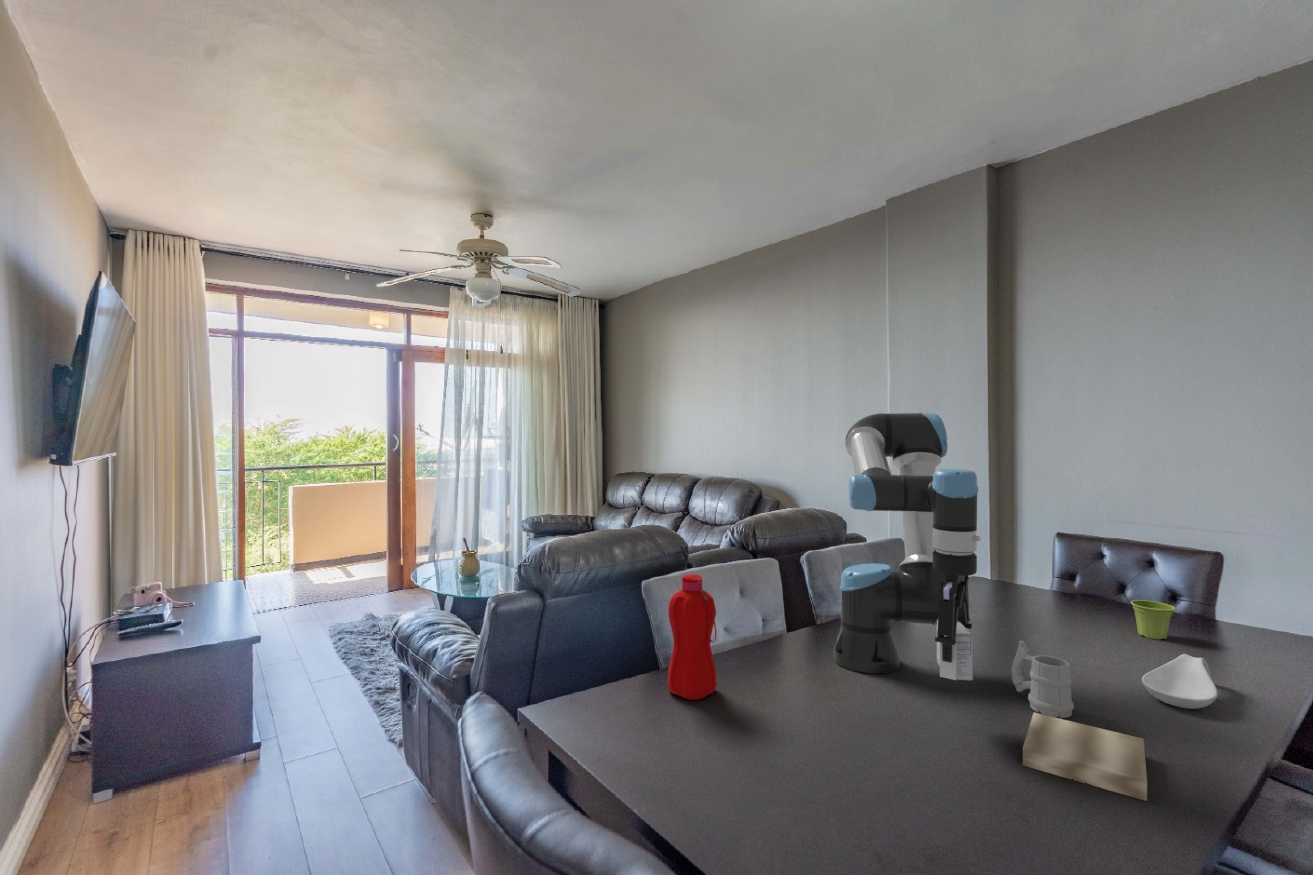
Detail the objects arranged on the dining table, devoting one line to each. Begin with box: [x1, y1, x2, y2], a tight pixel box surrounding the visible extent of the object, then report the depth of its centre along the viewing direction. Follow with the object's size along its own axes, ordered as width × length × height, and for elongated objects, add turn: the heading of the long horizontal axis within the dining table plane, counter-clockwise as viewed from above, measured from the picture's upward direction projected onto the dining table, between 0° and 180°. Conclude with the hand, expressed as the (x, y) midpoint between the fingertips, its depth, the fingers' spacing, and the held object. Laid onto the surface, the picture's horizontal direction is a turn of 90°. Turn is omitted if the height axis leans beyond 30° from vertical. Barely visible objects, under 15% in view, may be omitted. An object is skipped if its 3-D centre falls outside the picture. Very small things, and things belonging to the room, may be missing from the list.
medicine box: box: [936, 621, 974, 682], centre depth 114 cm, size 8×4×9 cm, turn 168°
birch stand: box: [1022, 712, 1148, 802], centre depth 101 cm, size 16×16×3 cm
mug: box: [1011, 639, 1075, 719], centre depth 122 cm, size 8×12×12 cm, turn 25°
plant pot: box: [1130, 599, 1176, 640], centre depth 164 cm, size 9×9×9 cm
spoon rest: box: [1141, 653, 1218, 710], centre depth 127 cm, size 24×12×7 cm, turn 129°
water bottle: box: [667, 573, 717, 701], centre depth 128 cm, size 9×11×25 cm
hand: (953, 669), depth 114 cm, fingers closed on medicine box, 9 cm apart
